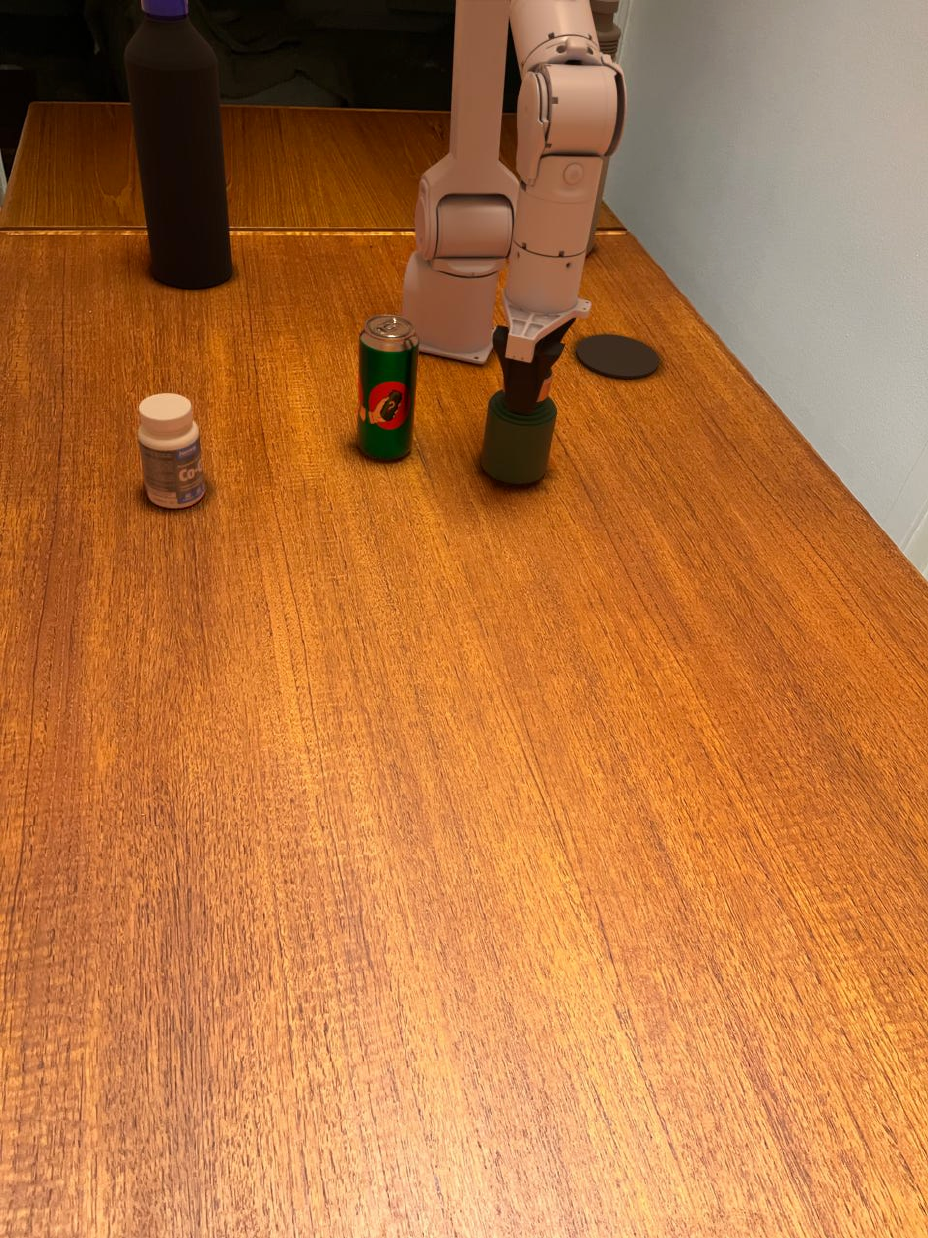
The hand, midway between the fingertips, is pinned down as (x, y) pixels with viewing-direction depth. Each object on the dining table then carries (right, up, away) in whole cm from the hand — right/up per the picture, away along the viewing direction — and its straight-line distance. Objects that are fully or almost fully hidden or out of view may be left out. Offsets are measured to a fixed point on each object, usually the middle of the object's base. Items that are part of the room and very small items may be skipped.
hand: (525, 397), depth 83 cm
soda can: (-13, -3, +6) cm, 14 cm away
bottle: (-36, +20, +28) cm, 50 cm away
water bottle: (+6, +29, +42) cm, 52 cm away
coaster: (+11, +9, +22) cm, 27 cm away
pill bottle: (-29, -8, -2) cm, 31 cm away
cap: (0, +2, -2) cm, 2 cm away
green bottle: (-1, -5, +5) cm, 7 cm away
